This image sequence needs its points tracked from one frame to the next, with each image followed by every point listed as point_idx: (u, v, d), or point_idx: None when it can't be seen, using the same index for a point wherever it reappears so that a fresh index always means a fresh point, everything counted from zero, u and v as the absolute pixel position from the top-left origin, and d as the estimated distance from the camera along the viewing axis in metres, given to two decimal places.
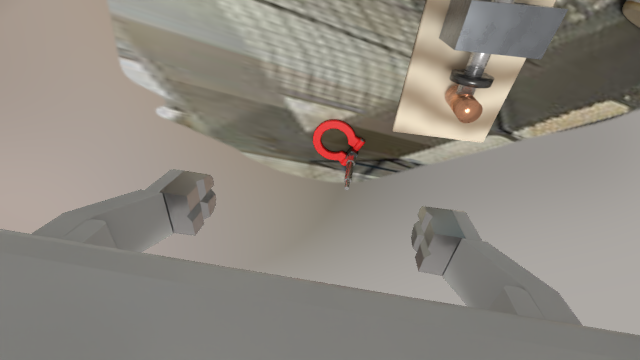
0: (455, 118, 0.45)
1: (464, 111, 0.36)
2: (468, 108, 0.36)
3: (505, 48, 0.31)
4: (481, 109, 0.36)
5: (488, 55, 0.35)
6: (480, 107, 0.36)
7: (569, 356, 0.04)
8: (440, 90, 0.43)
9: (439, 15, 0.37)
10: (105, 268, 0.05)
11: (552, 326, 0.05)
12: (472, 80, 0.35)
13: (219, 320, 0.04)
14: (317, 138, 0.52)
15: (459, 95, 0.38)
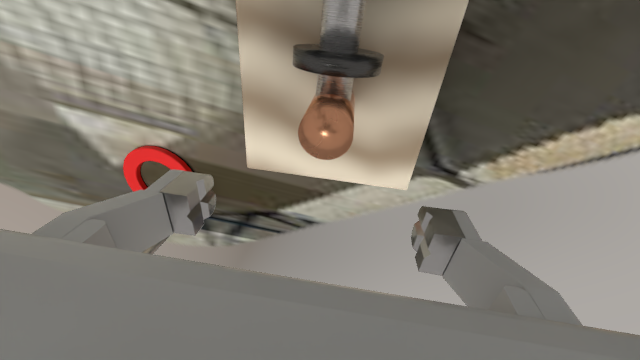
0: None
1: (313, 132, 0.15)
2: (319, 125, 0.15)
3: None
4: (349, 128, 0.15)
5: None
6: (346, 123, 0.15)
7: (569, 356, 0.04)
8: (308, 92, 0.22)
9: None
10: (105, 267, 0.05)
11: (552, 326, 0.05)
12: (320, 57, 0.14)
13: (219, 320, 0.04)
14: (131, 177, 0.30)
15: (315, 98, 0.17)
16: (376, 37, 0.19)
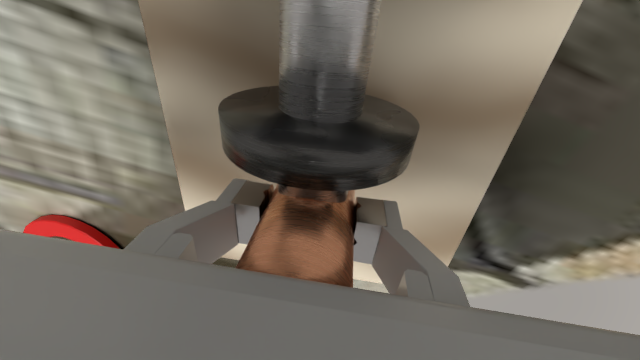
0: None
1: None
2: None
3: None
4: None
5: None
6: None
7: (569, 356, 0.04)
8: None
9: None
10: (105, 267, 0.05)
11: (552, 326, 0.05)
12: (266, 145, 0.06)
13: (219, 320, 0.04)
14: None
15: (274, 202, 0.08)
16: (394, 71, 0.11)
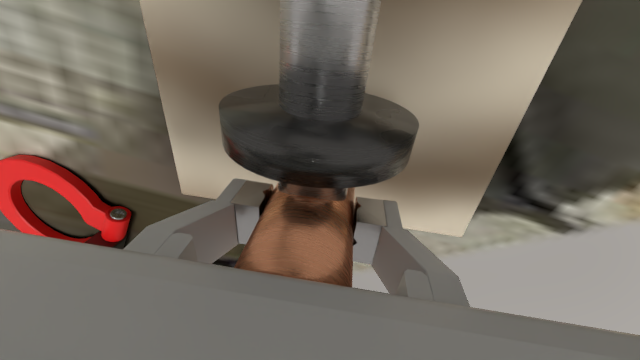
0: None
1: None
2: None
3: None
4: None
5: None
6: None
7: (569, 356, 0.04)
8: None
9: None
10: (105, 267, 0.05)
11: (552, 326, 0.05)
12: (266, 142, 0.06)
13: (219, 320, 0.04)
14: (6, 205, 0.18)
15: (274, 199, 0.08)
16: None
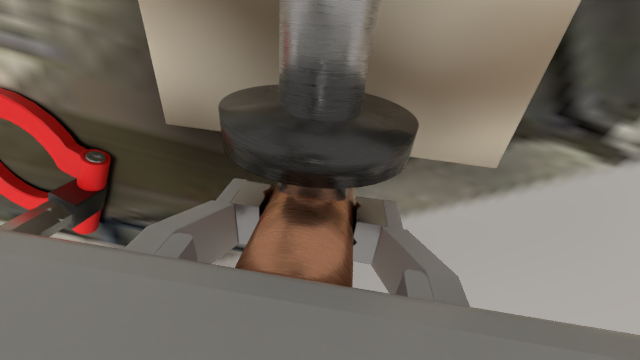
0: (378, 64, 0.11)
1: None
2: None
3: None
4: None
5: None
6: None
7: (569, 356, 0.04)
8: None
9: None
10: (105, 267, 0.05)
11: (552, 326, 0.05)
12: (266, 143, 0.06)
13: (219, 320, 0.04)
14: None
15: (274, 200, 0.08)
16: None
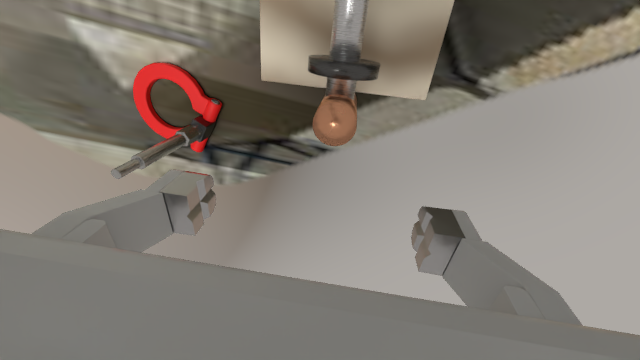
0: (367, 48, 0.24)
1: (324, 123, 0.19)
2: (330, 117, 0.19)
3: None
4: (353, 119, 0.19)
5: (357, 18, 0.18)
6: (350, 115, 0.19)
7: (569, 356, 0.04)
8: None
9: None
10: (105, 267, 0.05)
11: (552, 326, 0.05)
12: (331, 64, 0.18)
13: (219, 320, 0.04)
14: (141, 100, 0.29)
15: (325, 97, 0.21)
16: None
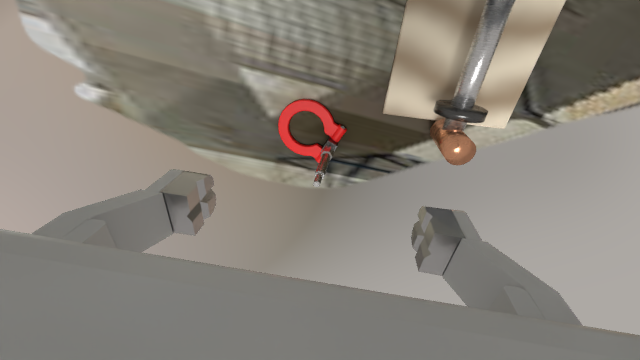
0: None
1: (453, 150, 0.29)
2: (458, 147, 0.29)
3: None
4: (474, 148, 0.29)
5: (479, 83, 0.28)
6: (473, 146, 0.29)
7: (569, 356, 0.04)
8: (446, 52, 0.31)
9: None
10: (105, 267, 0.05)
11: (552, 326, 0.05)
12: (461, 113, 0.28)
13: (219, 320, 0.04)
14: (284, 125, 0.39)
15: (446, 131, 0.31)
16: None
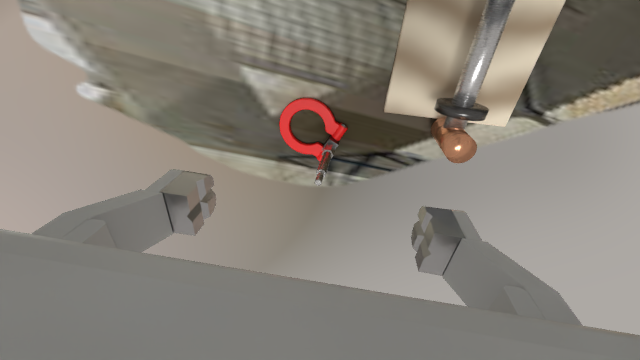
0: None
1: (454, 148, 0.29)
2: (459, 145, 0.29)
3: None
4: (475, 146, 0.29)
5: (480, 82, 0.28)
6: (474, 144, 0.29)
7: (569, 356, 0.04)
8: (447, 50, 0.31)
9: None
10: (105, 267, 0.05)
11: (552, 326, 0.05)
12: (462, 111, 0.28)
13: (219, 320, 0.04)
14: (285, 124, 0.39)
15: (447, 129, 0.31)
16: None
